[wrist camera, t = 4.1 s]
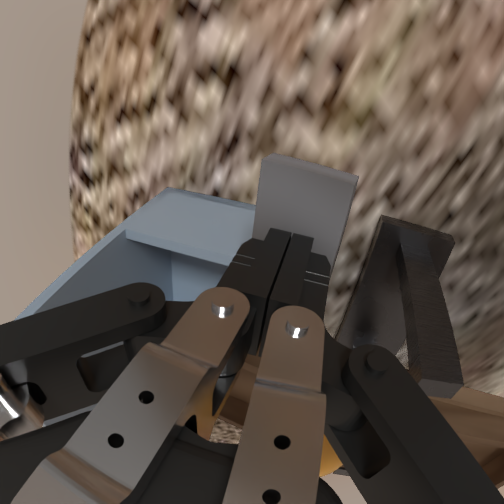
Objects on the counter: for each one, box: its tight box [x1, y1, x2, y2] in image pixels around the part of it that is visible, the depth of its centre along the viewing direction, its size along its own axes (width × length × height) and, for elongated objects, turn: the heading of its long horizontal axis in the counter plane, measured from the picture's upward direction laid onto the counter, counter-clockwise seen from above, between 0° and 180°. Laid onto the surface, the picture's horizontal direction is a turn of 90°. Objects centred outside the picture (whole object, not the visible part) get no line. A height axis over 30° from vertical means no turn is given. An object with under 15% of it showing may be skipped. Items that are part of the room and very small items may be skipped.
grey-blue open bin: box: [15, 187, 256, 427], centre depth 17 cm, size 10×10×16 cm
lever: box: [218, 153, 504, 489], centre depth 11 cm, size 14×18×3 cm
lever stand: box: [333, 215, 464, 476], centre depth 17 cm, size 13×5×11 cm, turn 173°
